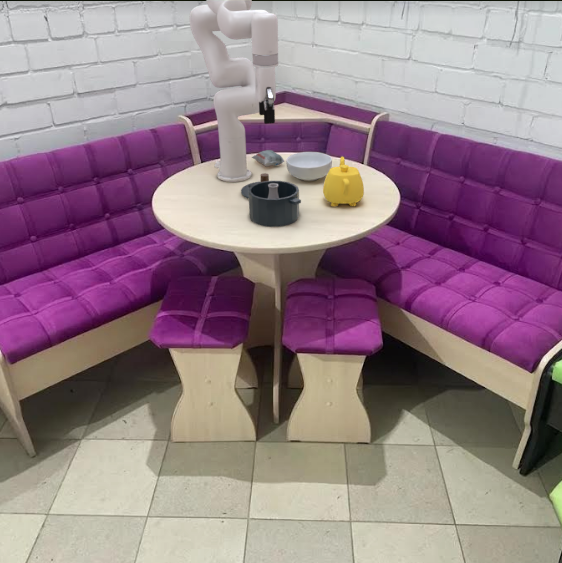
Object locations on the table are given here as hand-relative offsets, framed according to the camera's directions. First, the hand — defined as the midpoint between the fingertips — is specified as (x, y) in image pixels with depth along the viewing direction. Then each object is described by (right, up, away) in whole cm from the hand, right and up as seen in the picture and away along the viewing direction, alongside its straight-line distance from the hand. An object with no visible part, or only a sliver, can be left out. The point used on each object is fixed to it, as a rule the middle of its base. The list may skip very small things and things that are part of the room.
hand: (266, 118), depth 173 cm
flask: (+2, -29, +6) cm, 30 cm away
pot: (+2, -29, +6) cm, 30 cm away
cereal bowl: (+15, -12, +35) cm, 40 cm away
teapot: (+25, -23, +17) cm, 38 cm away
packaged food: (-1, -4, +48) cm, 48 cm away
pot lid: (-1, -19, +23) cm, 29 cm away
